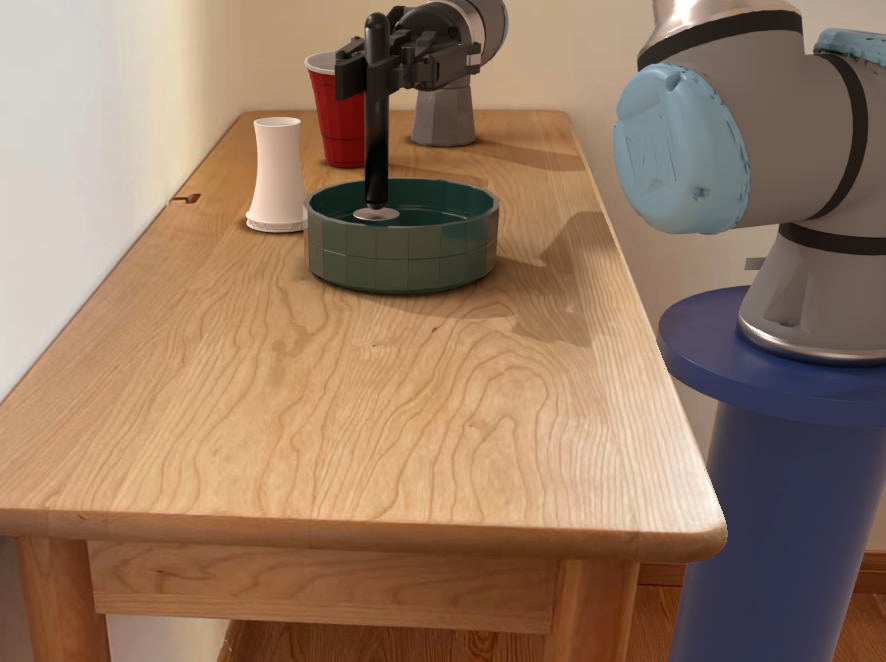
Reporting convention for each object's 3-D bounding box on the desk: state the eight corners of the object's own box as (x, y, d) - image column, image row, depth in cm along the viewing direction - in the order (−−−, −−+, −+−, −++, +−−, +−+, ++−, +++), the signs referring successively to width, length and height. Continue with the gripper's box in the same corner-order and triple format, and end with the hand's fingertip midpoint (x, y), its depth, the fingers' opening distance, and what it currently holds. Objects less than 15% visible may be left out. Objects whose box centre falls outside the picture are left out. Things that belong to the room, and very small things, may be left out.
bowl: (496, 241, 115) (501, 178, 111) (493, 300, 100) (498, 230, 97) (320, 237, 117) (318, 175, 113) (291, 294, 102) (289, 225, 99)
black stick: (401, 235, 110) (405, 9, 98) (397, 248, 106) (400, 15, 95) (356, 234, 110) (354, 8, 99) (350, 247, 107) (348, 15, 95)
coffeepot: (499, 136, 155) (509, -17, 144) (478, 150, 148) (486, -9, 137) (395, 128, 160) (397, -20, 149) (370, 141, 153) (369, -13, 142)
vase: (243, 215, 124) (237, 115, 118) (311, 211, 125) (308, 112, 119) (250, 234, 118) (244, 130, 112) (321, 230, 119) (319, 127, 113)
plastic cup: (309, 174, 138) (306, 65, 131) (304, 154, 147) (301, 51, 140) (397, 172, 139) (399, 62, 132) (387, 152, 148) (388, 48, 141)
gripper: (508, 90, 113) (439, 138, 95) (365, 82, 117) (274, 126, 100) (514, 3, 109) (443, 37, 91) (365, -2, 113) (270, 30, 95)
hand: (355, 84), depth 95 cm, fingers closed on black stick, 2 cm apart
